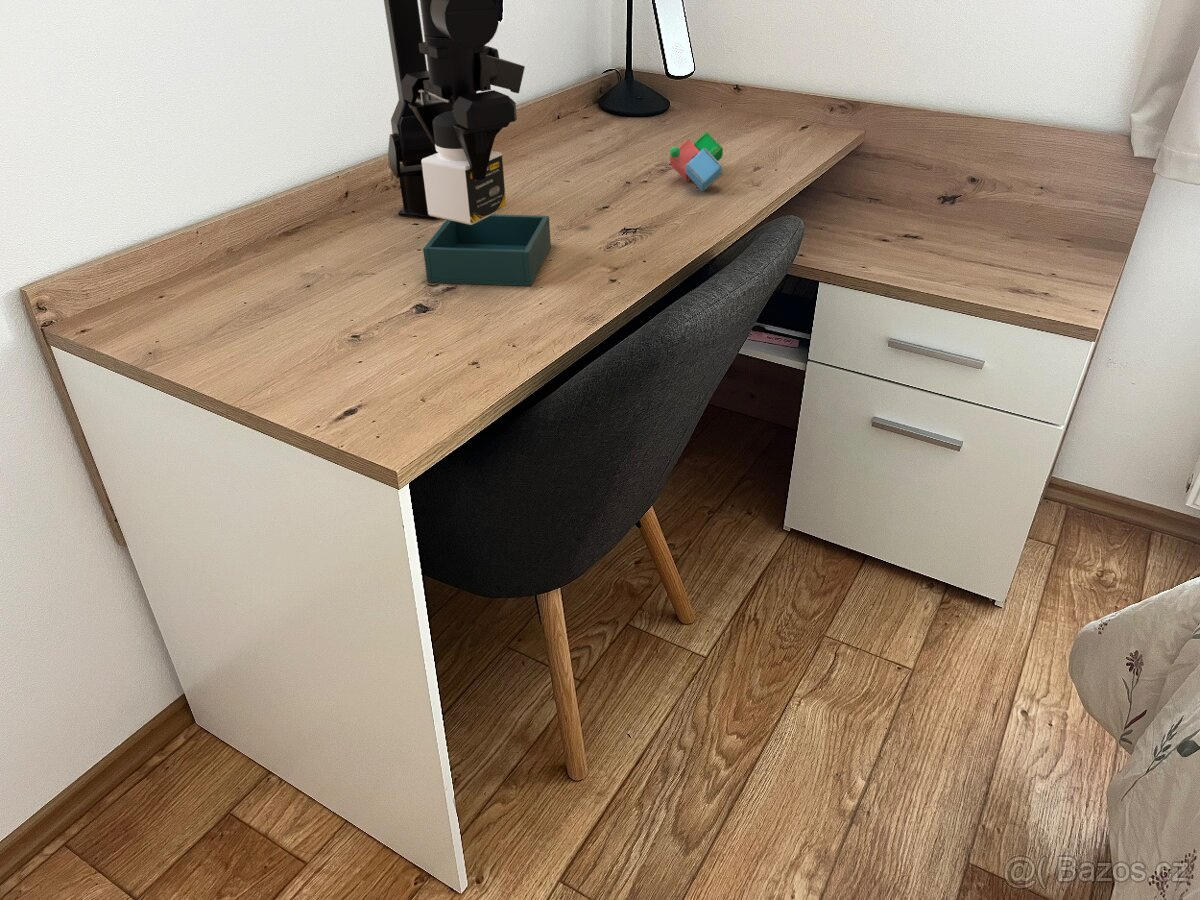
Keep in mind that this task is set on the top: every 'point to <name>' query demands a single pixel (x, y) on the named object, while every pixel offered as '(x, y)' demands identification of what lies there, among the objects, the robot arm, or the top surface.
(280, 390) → the top surface
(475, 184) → the medicine bottle
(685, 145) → the building blocks
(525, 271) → the desk bin
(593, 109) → the top surface
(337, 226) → the top surface
